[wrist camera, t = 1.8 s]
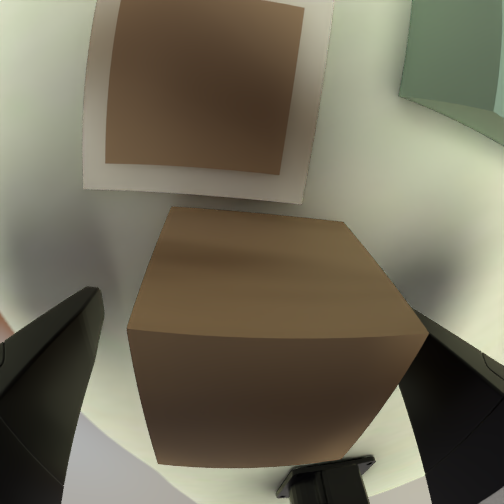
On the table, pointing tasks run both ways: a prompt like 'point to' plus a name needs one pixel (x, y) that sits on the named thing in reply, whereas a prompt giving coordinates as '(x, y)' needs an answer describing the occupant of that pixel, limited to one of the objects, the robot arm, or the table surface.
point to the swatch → (204, 96)
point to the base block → (458, 62)
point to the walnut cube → (264, 340)
